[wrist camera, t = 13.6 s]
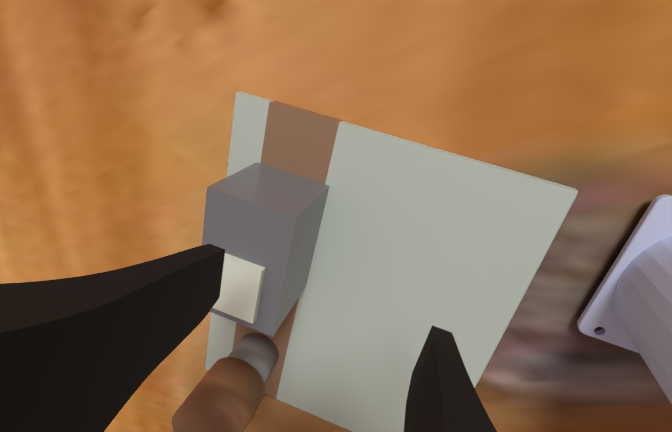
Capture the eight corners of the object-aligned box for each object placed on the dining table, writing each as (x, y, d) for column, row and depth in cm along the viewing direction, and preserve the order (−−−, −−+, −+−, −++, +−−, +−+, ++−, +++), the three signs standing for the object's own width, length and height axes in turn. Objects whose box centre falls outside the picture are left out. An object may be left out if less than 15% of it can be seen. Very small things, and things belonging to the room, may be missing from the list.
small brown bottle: (292, 348, 27) (243, 436, 21) (271, 380, 29) (218, 470, 22) (246, 318, 27) (183, 395, 21) (228, 351, 29) (164, 432, 22)
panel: (574, 188, 19) (578, 191, 18) (433, 458, 28) (433, 466, 27) (241, 91, 22) (236, 92, 21) (209, 363, 31) (204, 368, 30)
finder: (329, 185, 22) (293, 221, 17) (305, 286, 25) (269, 341, 20) (256, 162, 23) (202, 189, 18) (242, 263, 25) (191, 310, 21)
